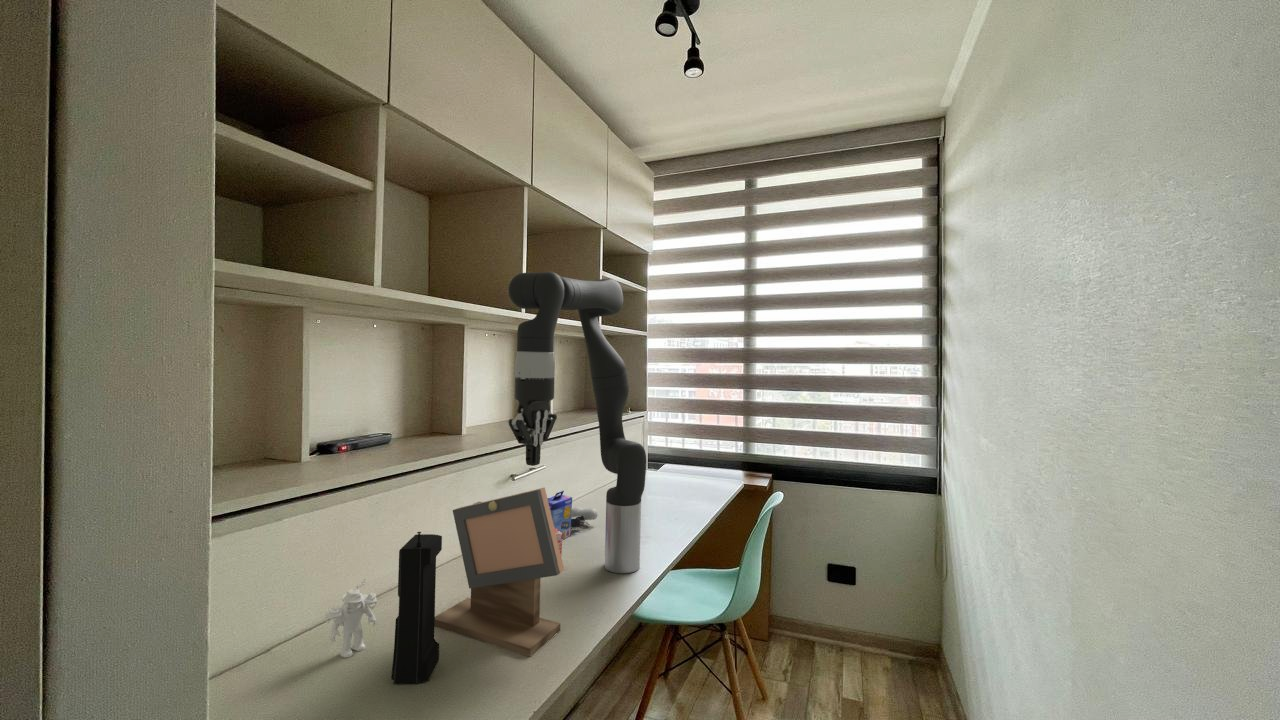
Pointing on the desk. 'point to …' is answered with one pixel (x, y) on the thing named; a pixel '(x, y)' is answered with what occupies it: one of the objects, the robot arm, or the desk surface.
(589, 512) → the clip-on lamp
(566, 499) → the ink cartridge box
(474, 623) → the frame stand
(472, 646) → the desk surface
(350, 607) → the hat wearing toy figure
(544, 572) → the picture frame
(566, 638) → the desk surface
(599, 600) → the desk surface
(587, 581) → the desk surface
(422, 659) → the portable radio
